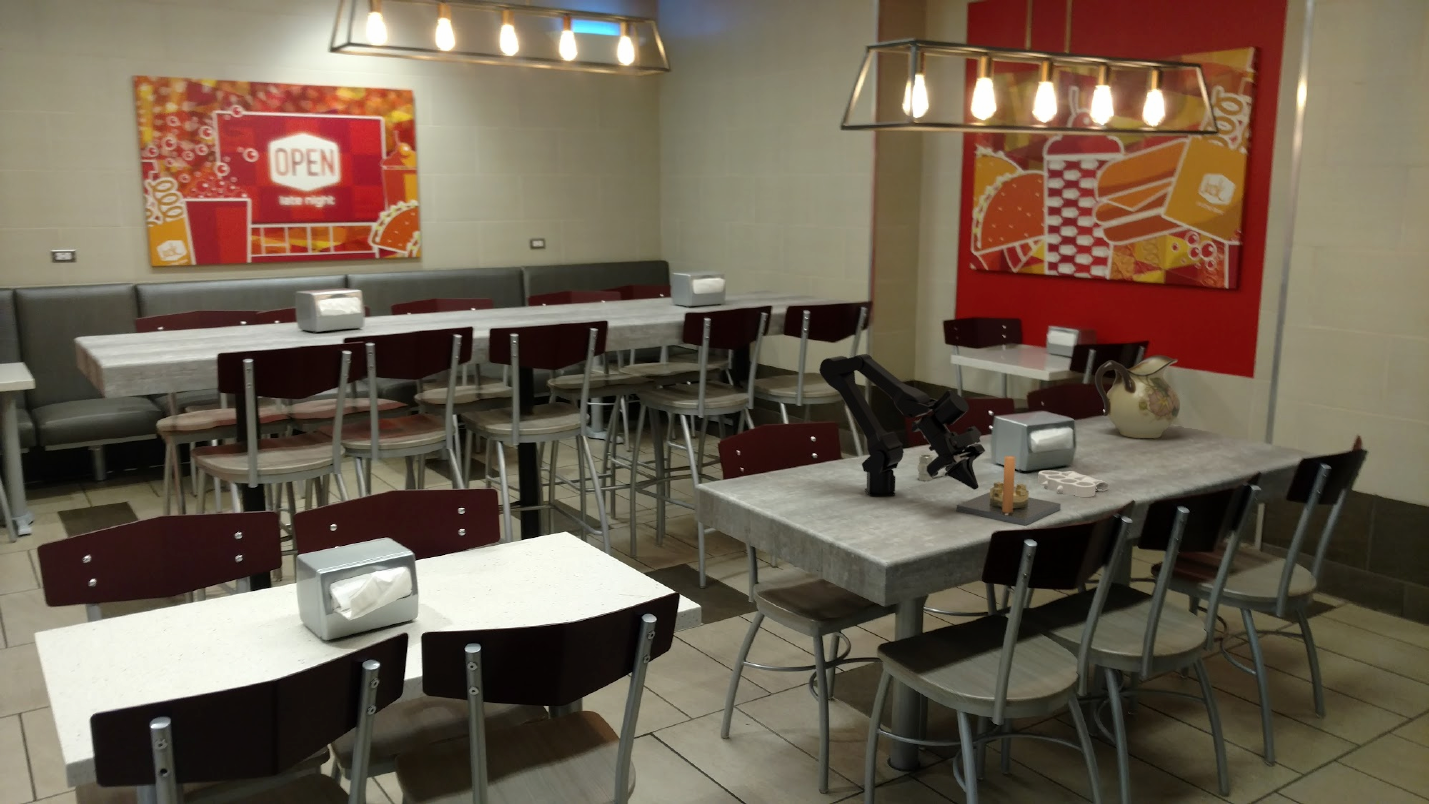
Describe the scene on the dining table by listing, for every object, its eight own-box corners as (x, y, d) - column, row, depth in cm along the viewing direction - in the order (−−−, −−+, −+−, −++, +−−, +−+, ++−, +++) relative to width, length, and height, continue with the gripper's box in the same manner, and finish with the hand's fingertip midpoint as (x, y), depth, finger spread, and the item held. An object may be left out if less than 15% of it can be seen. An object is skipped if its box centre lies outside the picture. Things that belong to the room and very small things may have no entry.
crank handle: (990, 496, 269) (992, 444, 267) (1028, 499, 266) (1031, 447, 264) (987, 511, 256) (989, 457, 254) (1027, 514, 254) (1029, 459, 251)
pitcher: (1189, 434, 348) (1193, 356, 344) (1159, 446, 331) (1164, 365, 327) (1120, 425, 363) (1124, 351, 359) (1089, 436, 347) (1092, 359, 342)
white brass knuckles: (1117, 495, 279) (1072, 501, 273) (1068, 479, 295) (1025, 485, 289) (1118, 482, 278) (1073, 488, 272) (1068, 467, 294) (1025, 472, 288)
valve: (926, 483, 290) (961, 477, 296) (927, 459, 289) (962, 454, 294) (911, 477, 296) (945, 472, 301) (911, 454, 294) (946, 449, 300)
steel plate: (956, 511, 263) (956, 504, 263) (993, 496, 276) (993, 489, 276) (1025, 525, 251) (1025, 518, 251) (1060, 509, 264) (1060, 502, 264)
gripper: (939, 422, 254) (979, 477, 249) (980, 411, 267) (1018, 462, 262) (909, 449, 261) (947, 503, 256) (950, 437, 274) (987, 488, 269)
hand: (976, 488), depth 260 cm, fingers closed
